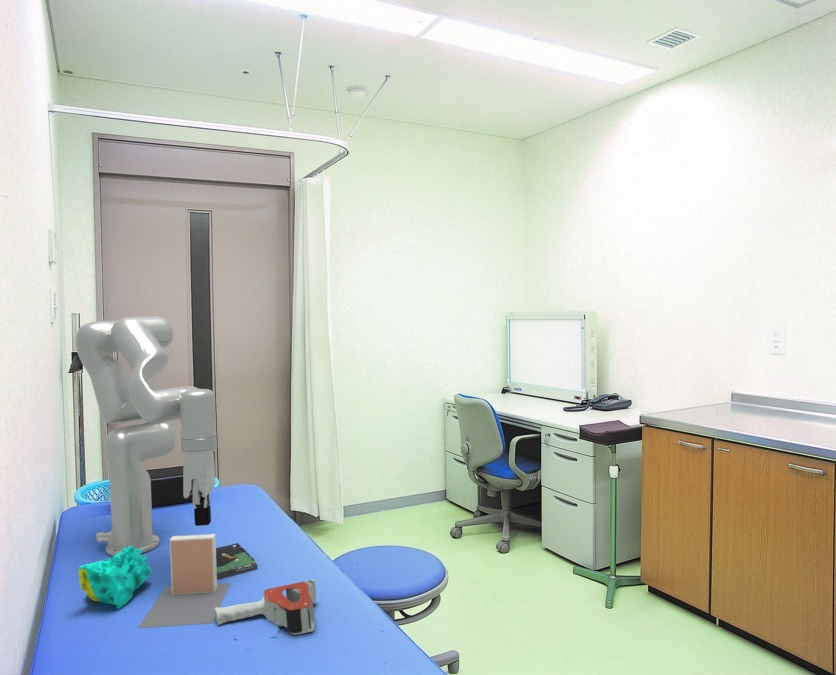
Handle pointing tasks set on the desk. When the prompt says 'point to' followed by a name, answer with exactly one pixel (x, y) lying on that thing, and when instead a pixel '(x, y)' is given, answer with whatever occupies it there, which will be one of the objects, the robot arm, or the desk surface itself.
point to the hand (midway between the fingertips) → (203, 524)
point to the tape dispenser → (278, 607)
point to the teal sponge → (114, 577)
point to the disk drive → (233, 561)
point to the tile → (193, 564)
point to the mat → (184, 608)
